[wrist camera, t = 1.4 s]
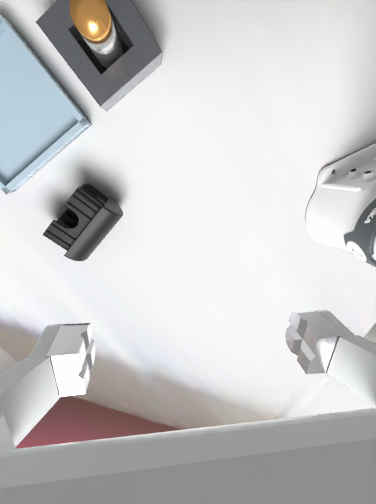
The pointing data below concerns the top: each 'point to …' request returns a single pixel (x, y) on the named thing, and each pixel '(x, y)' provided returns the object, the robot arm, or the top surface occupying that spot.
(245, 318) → the top surface
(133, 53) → the socket block
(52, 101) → the tray
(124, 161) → the top surface
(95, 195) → the end cap
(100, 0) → the gold and grey cylinder
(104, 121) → the top surface
